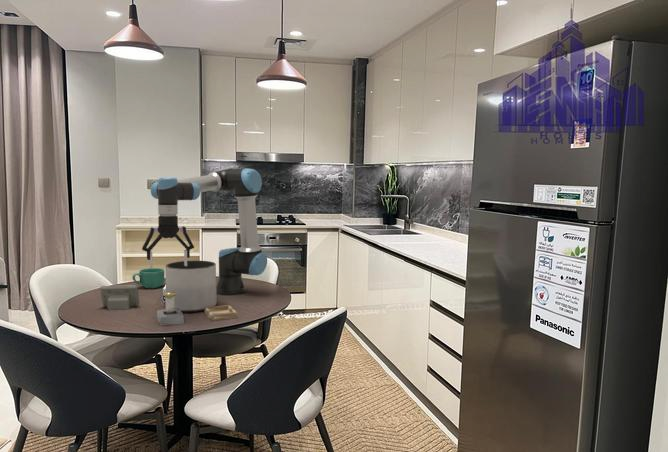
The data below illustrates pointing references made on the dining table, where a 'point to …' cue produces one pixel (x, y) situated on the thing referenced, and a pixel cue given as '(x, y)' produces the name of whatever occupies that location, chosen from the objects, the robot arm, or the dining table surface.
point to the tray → (220, 312)
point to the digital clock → (119, 296)
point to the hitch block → (170, 317)
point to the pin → (169, 302)
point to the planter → (192, 284)
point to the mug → (150, 277)
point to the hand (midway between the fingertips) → (168, 266)
